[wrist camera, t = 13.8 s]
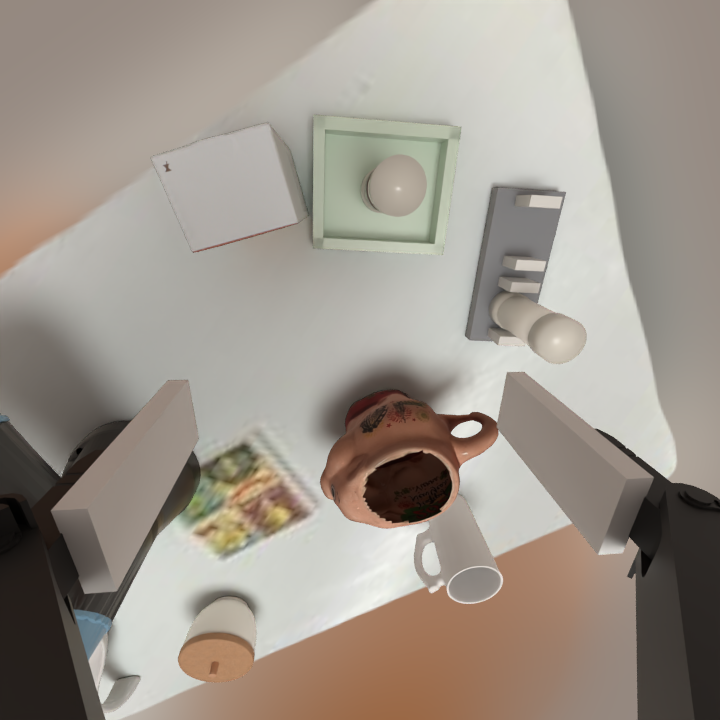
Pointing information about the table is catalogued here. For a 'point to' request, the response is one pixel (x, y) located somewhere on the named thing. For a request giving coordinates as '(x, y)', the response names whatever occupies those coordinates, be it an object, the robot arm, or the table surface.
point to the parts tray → (356, 159)
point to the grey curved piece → (120, 688)
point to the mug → (459, 556)
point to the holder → (521, 277)
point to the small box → (232, 186)
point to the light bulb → (394, 186)
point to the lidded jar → (220, 642)
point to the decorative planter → (399, 460)
